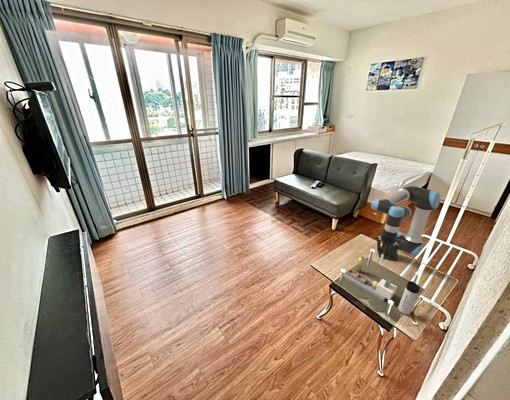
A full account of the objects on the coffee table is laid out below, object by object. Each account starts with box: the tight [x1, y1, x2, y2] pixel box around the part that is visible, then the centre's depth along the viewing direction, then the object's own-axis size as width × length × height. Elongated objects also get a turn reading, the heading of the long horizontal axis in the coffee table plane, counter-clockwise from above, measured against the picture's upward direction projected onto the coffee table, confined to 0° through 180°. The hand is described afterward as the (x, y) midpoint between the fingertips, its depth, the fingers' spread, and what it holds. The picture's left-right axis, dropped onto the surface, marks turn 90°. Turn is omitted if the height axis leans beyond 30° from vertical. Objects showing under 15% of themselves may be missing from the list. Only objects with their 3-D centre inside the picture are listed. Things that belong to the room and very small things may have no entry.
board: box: [342, 268, 386, 302], centre depth 152 cm, size 12×28×6 cm, turn 41°
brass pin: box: [355, 256, 365, 273], centre depth 165 cm, size 4×4×12 cm
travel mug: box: [397, 280, 421, 316], centre depth 129 cm, size 6×7×20 cm
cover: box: [375, 277, 398, 301], centre depth 142 cm, size 9×9×10 cm
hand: (380, 262), depth 143 cm, fingers closed
